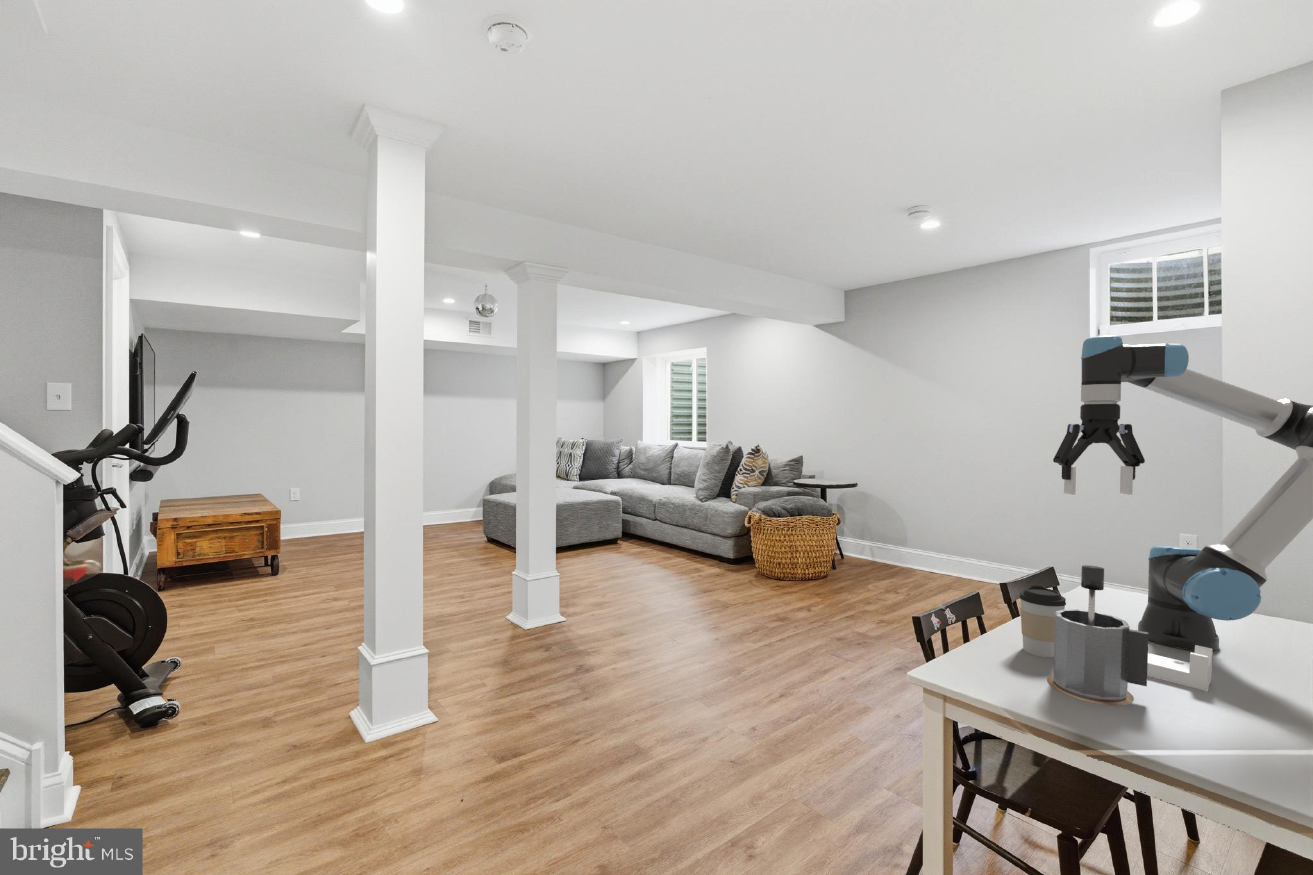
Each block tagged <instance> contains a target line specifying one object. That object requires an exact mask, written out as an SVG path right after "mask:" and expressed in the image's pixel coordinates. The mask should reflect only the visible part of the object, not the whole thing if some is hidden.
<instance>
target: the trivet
mask: <svg viewBox="0 0 1313 875" xmlns="http://www.w3.org/2000/svg"><path fill="white" fill-rule="evenodd" d="M1053 678H1054V674H1050V675H1049V676H1047V678H1046V682H1047V684H1048V686H1050V687H1051V688H1053V689H1054V690H1056V691H1057V692H1059V693H1061V694H1063V695H1065V696H1068V697H1070V698H1074V699H1077V700H1080V701H1083V702H1087V703H1093V704H1098V705H1103V706H1104V705H1105V706H1127V705H1130V704H1132V703H1133V702H1134V699H1135V697H1134V695H1133V694H1132V693H1131V691H1129V690H1127V698H1126V700H1124V701H1121V702H1100V701H1093V700H1089V699H1085V698H1081V697H1078V696H1075V695H1072V694H1070V693H1067V692H1065V691H1063V690H1061V689H1060V688H1058V687H1057V686H1056V685H1055V684H1054V682H1053Z"/></svg>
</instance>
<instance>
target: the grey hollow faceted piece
mask: <svg viewBox="0 0 1313 875" xmlns="http://www.w3.org/2000/svg"><path fill="white" fill-rule="evenodd" d="M1148 637H1149V634H1148V632H1143V631H1138V629H1137V630H1136V629H1131V626H1130V625H1129V623H1128V621H1127V620H1124V619H1122V618H1119V617H1118V616H1114V615H1110V614H1107V613H1102V612H1097V611H1095V615H1094V626H1090V625H1088V610H1084V609H1073V608H1071V609H1067V608H1065V609H1063V610H1059V611H1056V612H1055V642H1054V657H1053V675H1054V678H1053V682H1054V684H1055V685H1056V686H1057V687H1058V688H1060V689H1061V690H1063V691H1065V692H1067V693H1070V694H1072V695H1075V696H1078V697H1081V698H1085V699H1089V700H1093V701H1100V702H1121V701H1124V700H1126V698H1127V691H1128V688H1129V687H1128V686H1129V685H1128V684H1133V685H1138V686H1142V687H1147V686H1148V676H1147V665H1148V653H1149V640H1148Z"/></svg>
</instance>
